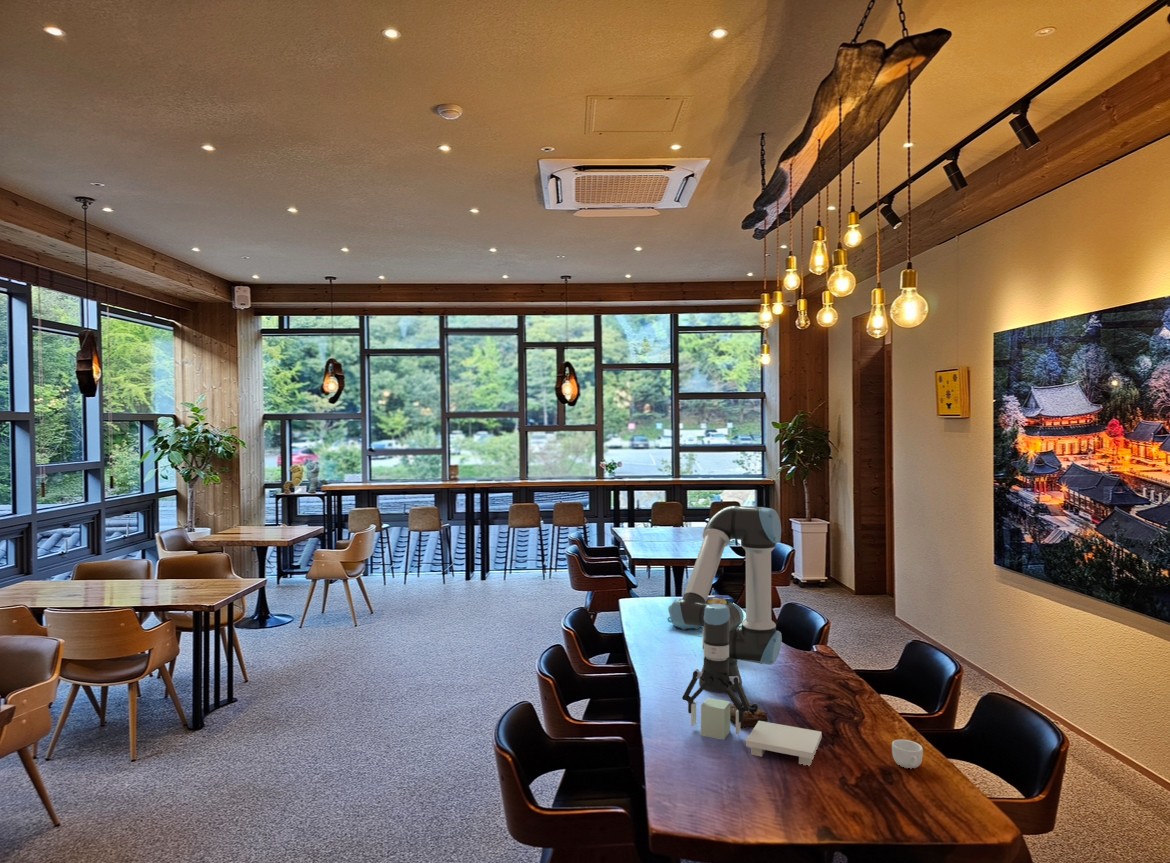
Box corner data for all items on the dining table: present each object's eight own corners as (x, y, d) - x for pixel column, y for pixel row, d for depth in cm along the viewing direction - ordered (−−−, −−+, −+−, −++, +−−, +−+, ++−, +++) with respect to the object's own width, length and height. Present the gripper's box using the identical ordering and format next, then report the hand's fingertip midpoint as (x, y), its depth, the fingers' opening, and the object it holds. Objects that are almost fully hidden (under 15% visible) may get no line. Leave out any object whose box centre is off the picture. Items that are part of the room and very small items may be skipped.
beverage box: (702, 648, 310) (702, 595, 310) (727, 647, 311) (728, 595, 312) (707, 652, 303) (707, 599, 303) (732, 652, 305) (733, 598, 305)
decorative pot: (662, 627, 342) (663, 598, 342) (678, 620, 356) (679, 592, 356) (694, 633, 333) (695, 603, 333) (710, 626, 346) (710, 597, 346)
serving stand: (758, 735, 219) (758, 720, 219) (821, 747, 211) (821, 731, 211) (745, 756, 205) (746, 740, 205) (812, 770, 197) (813, 753, 197)
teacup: (887, 758, 205) (887, 739, 205) (915, 759, 204) (915, 739, 205) (901, 775, 195) (901, 754, 195) (931, 775, 194) (931, 755, 195)
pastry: (739, 730, 223) (740, 711, 224) (722, 716, 235) (722, 697, 235) (772, 727, 226) (772, 708, 226) (753, 713, 238) (753, 694, 238)
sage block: (707, 727, 225) (707, 697, 226) (730, 731, 222) (730, 701, 222) (700, 735, 219) (701, 705, 219) (723, 739, 216) (724, 709, 216)
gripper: (672, 654, 223) (671, 725, 223) (755, 666, 212) (754, 740, 212) (680, 648, 230) (679, 716, 230) (760, 659, 219) (760, 731, 219)
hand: (715, 728), depth 221 cm, fingers open, 13 cm apart
